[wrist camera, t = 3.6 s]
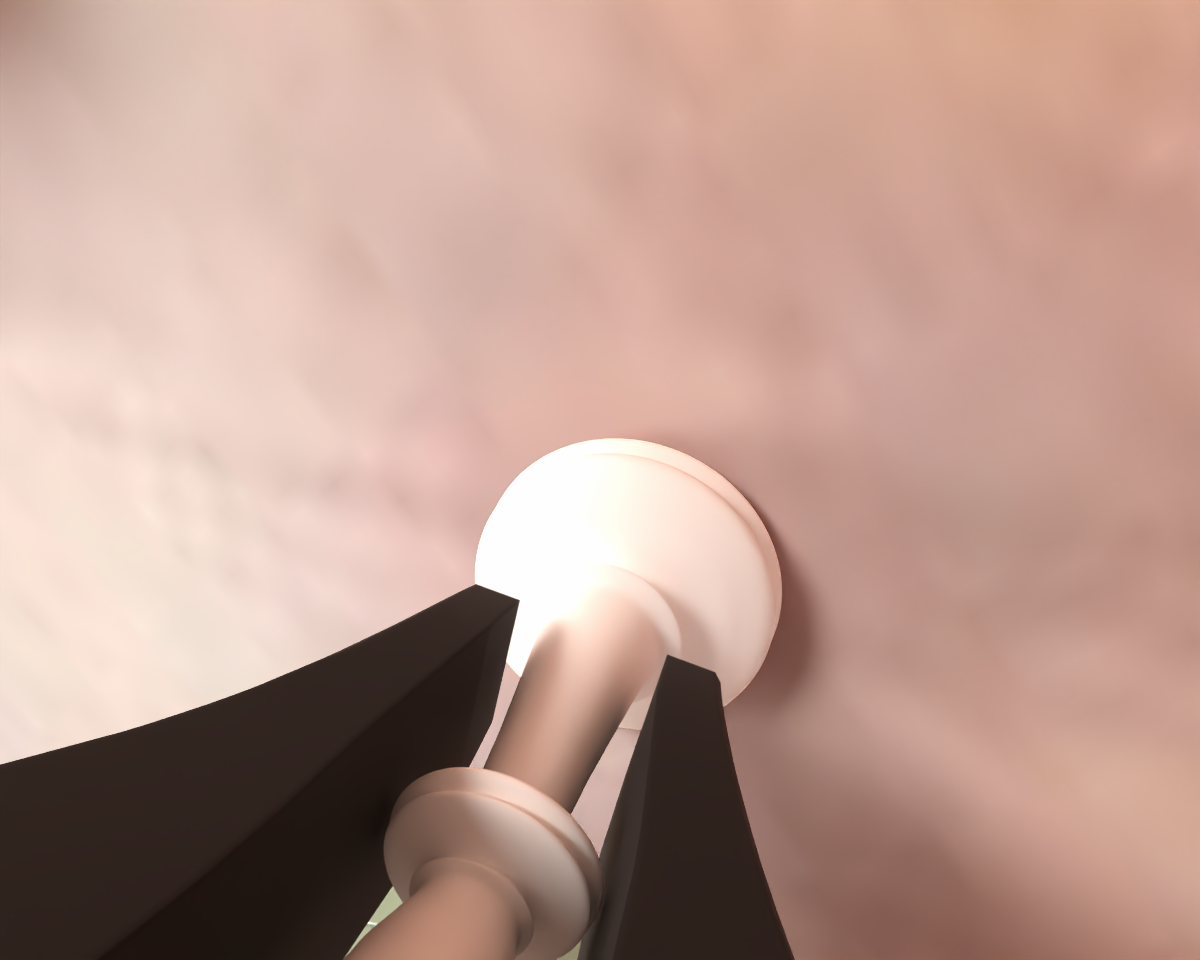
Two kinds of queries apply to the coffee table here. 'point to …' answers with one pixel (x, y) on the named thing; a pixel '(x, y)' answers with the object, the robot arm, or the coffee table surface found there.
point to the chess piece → (574, 689)
